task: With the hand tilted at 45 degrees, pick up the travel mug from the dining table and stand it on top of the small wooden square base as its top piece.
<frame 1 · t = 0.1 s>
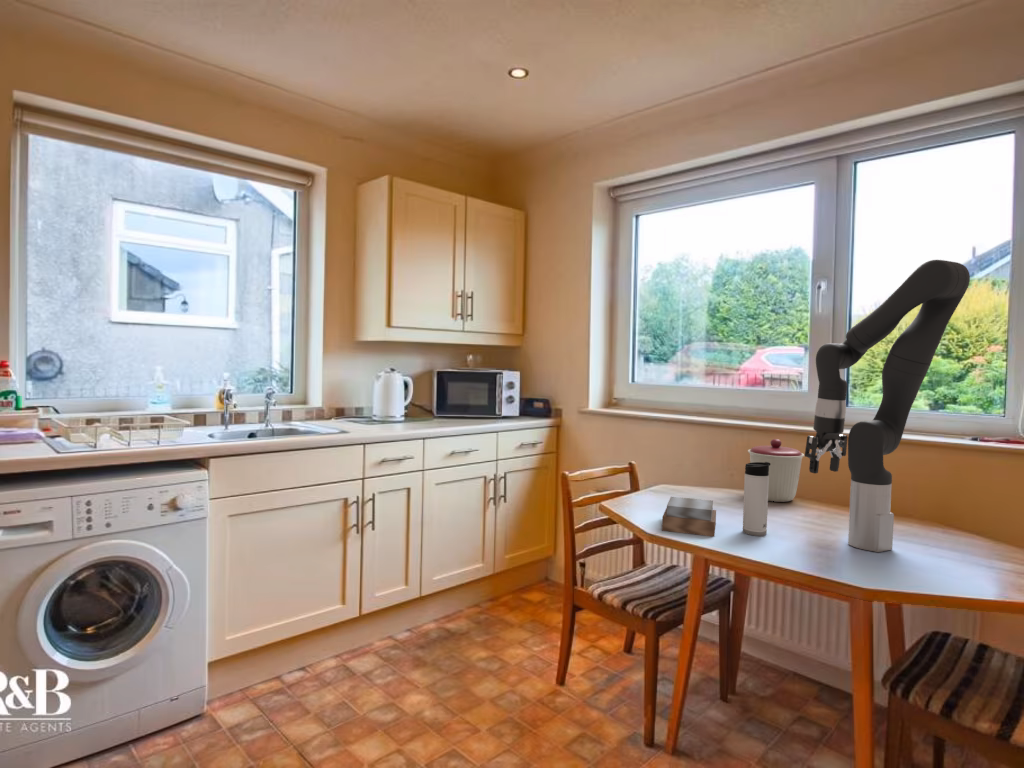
hand: (823, 471, 171), 17 cm above the table, tool pointing down, fingers open, 8 cm apart
travel mug: (755, 533, 171), on the table
canister: (773, 499, 213), on the table
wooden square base: (689, 526, 176), on the table
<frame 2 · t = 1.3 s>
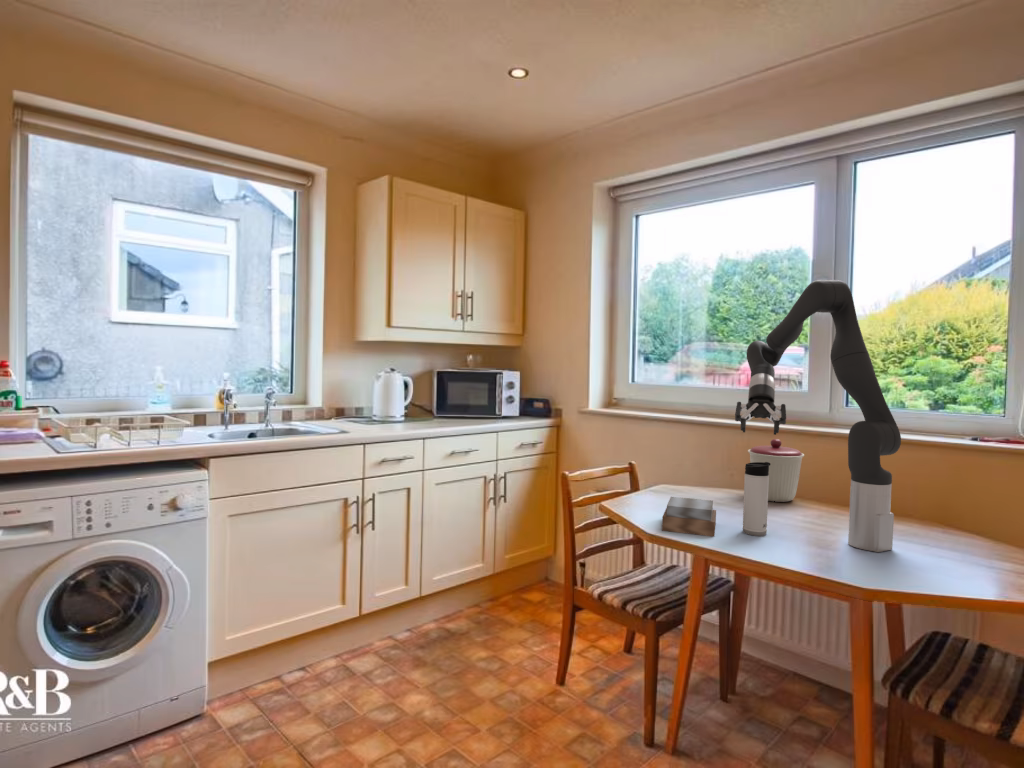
hand: (759, 431, 180), 27 cm above the table, tool tilted 45°, fingers open, 8 cm apart
nothing on the table moved.
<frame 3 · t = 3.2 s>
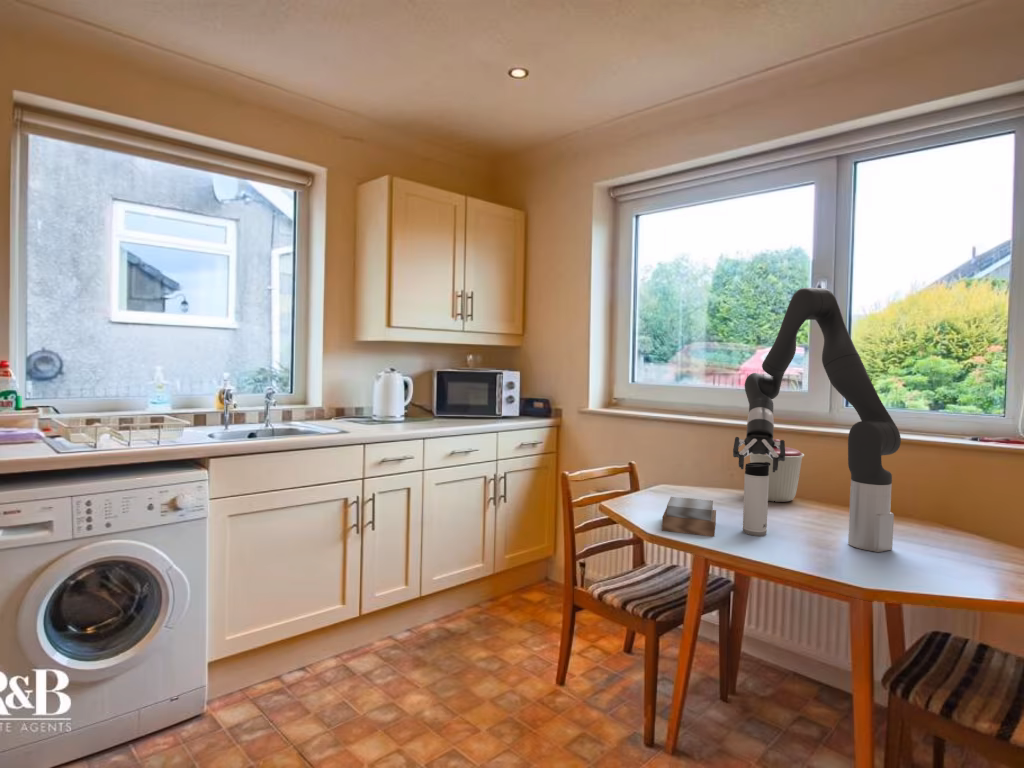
hand: (757, 469, 176), 17 cm above the table, tool tilted 45°, fingers open, 8 cm apart
nothing on the table moved.
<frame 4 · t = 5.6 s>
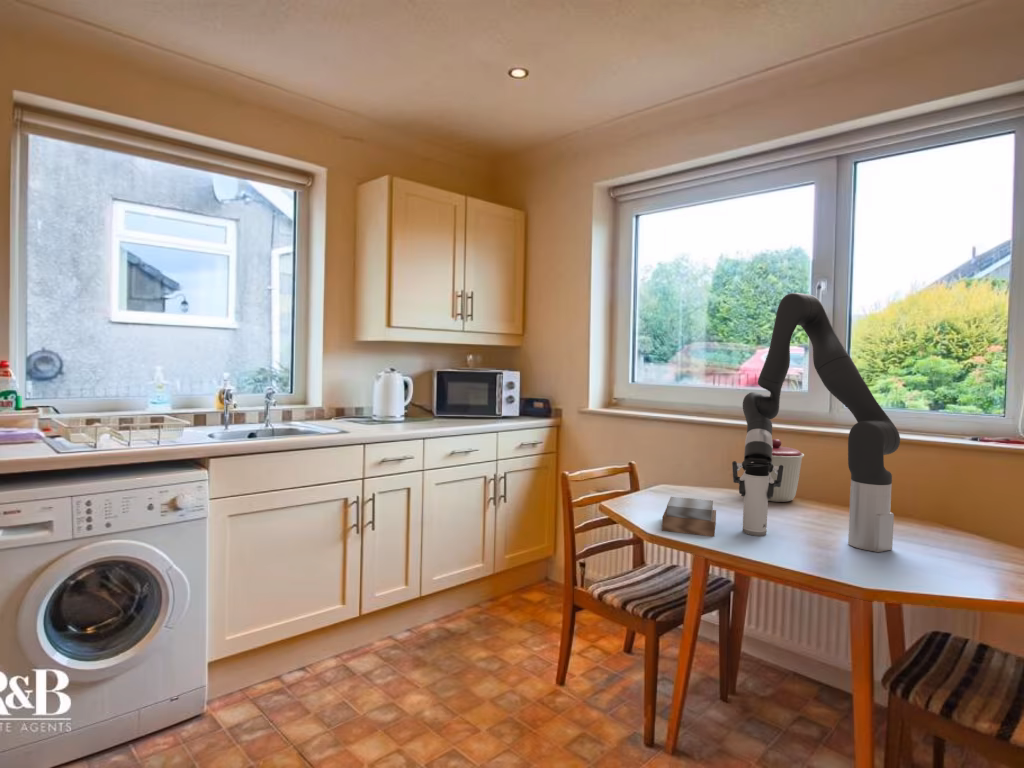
hand: (755, 495, 169), 11 cm above the table, tool tilted 45°, fingers closed on travel mug, 6 cm apart
travel mug: (754, 533, 171), on the table, touching gripper
everything else where it was.
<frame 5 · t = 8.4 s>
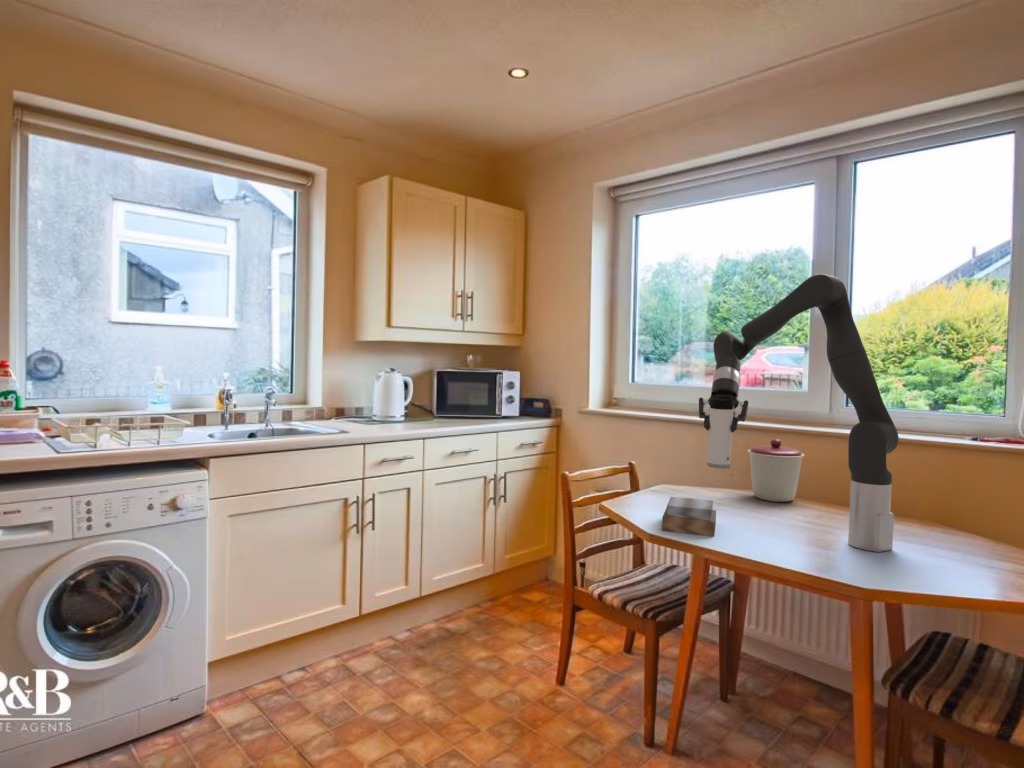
hand: (719, 429, 171), 29 cm above the table, tool tilted 45°, fingers closed on travel mug, 6 cm apart
travel mug: (719, 467, 174), point 18 cm above the table, touching gripper
everything else where it was.
when the fingers open (19 cm above the table, at t = 11.6 s): travel mug drops 1 cm, resting on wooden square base.
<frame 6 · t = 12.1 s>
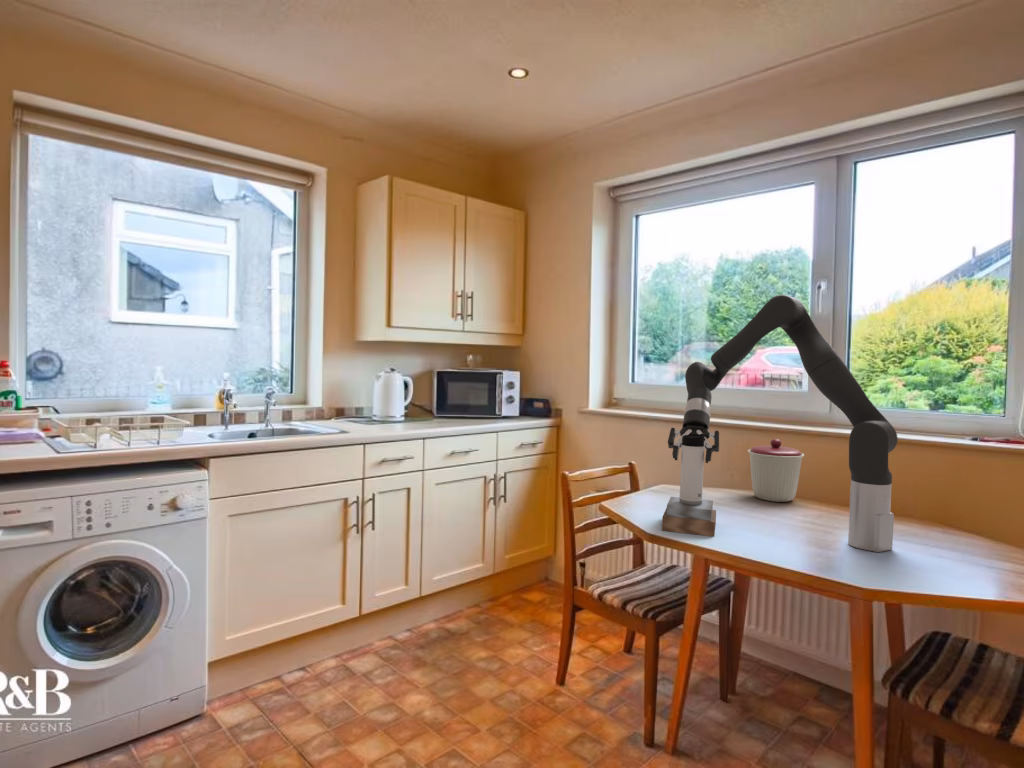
hand: (691, 460, 173), 20 cm above the table, tool tilted 45°, fingers open, 8 cm apart
travel mug: (691, 503, 175), point 7 cm above the table, touching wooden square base
everything else where it was.
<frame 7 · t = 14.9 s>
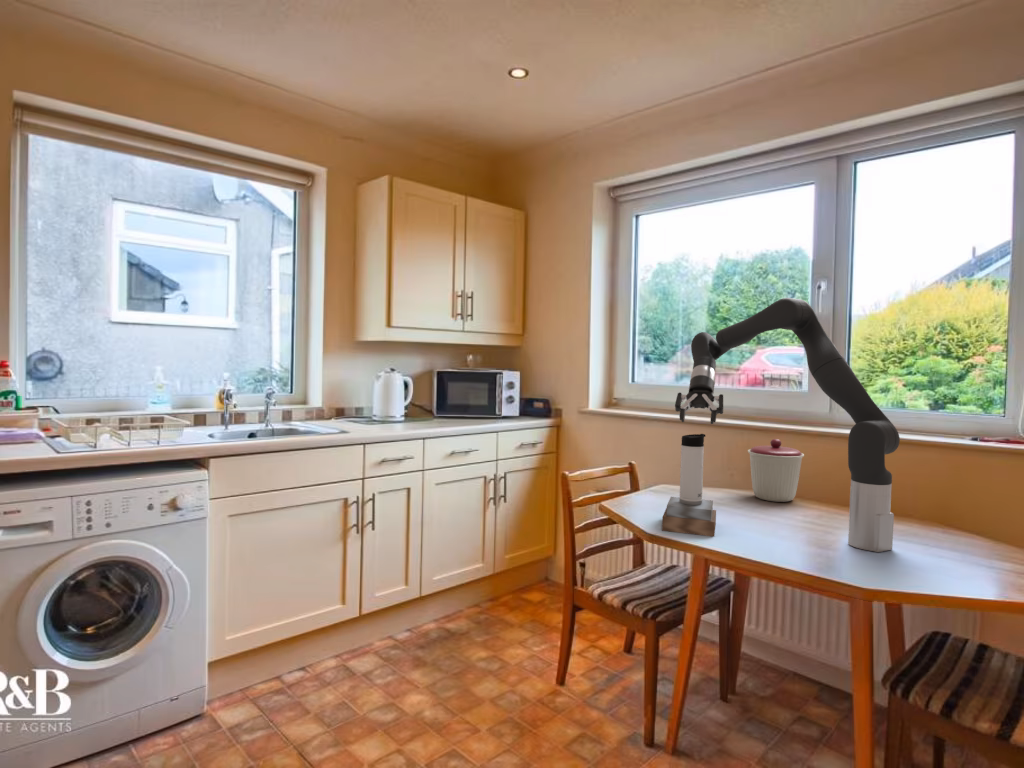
hand: (697, 421, 185), 30 cm above the table, tool tilted 45°, fingers open, 8 cm apart
nothing on the table moved.
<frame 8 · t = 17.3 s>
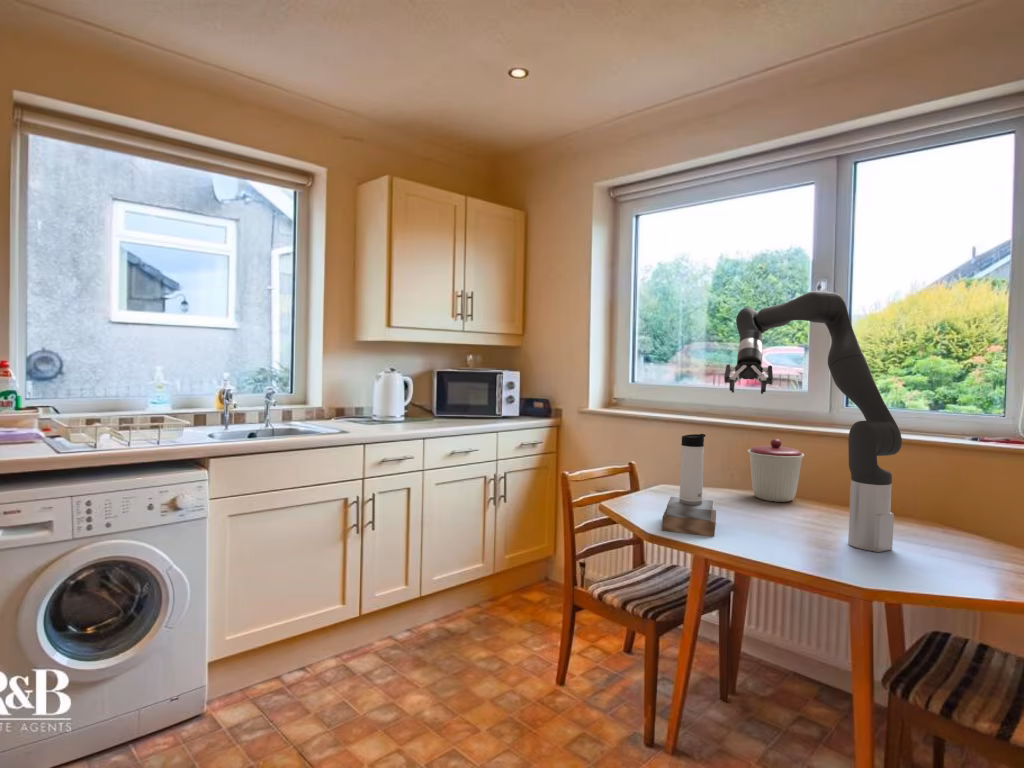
hand: (747, 391, 189), 39 cm above the table, tool tilted 45°, fingers open, 8 cm apart
nothing on the table moved.
at the end: travel mug inside the target area on the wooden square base (0.3 cm from its centre), point 6.8 cm above the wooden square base's base; travel mug tilted 0°; the gripper is holding nothing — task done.
